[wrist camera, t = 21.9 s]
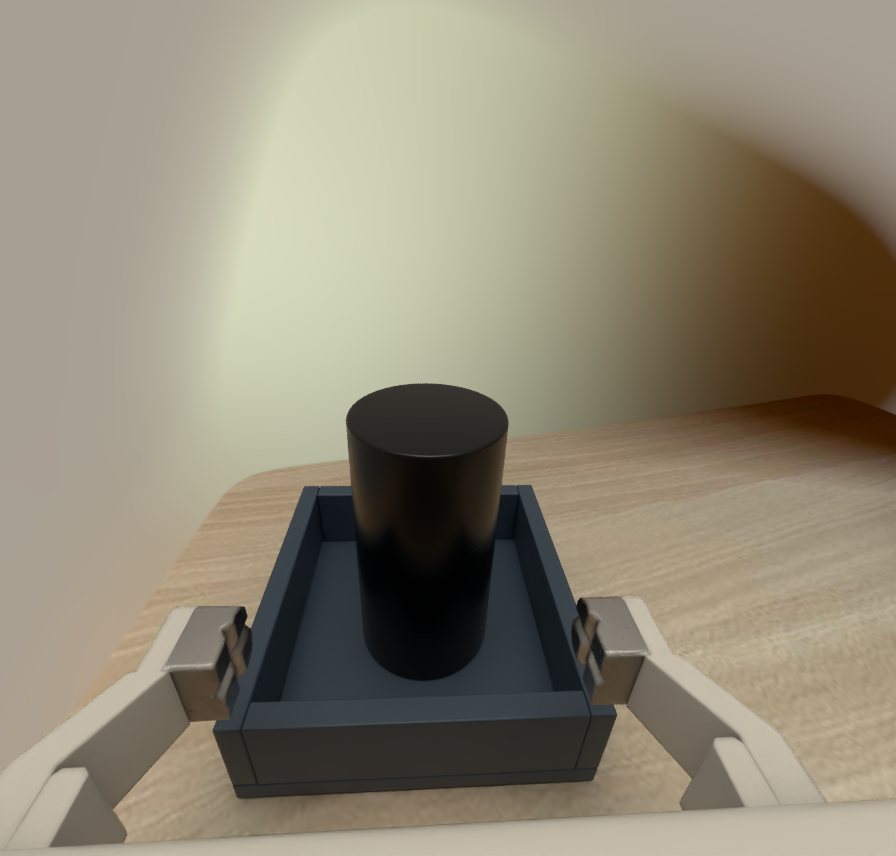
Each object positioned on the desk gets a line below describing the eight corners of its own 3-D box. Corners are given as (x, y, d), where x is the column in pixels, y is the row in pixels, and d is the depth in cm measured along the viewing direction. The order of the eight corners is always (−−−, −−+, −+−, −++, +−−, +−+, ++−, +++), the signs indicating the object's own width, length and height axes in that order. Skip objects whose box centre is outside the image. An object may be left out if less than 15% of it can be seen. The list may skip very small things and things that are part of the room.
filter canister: (355, 683, 17) (333, 456, 12) (368, 577, 22) (356, 382, 17) (493, 678, 17) (523, 456, 13) (477, 575, 22) (495, 383, 17)
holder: (236, 799, 14) (210, 731, 13) (311, 542, 25) (303, 485, 23) (593, 781, 15) (618, 714, 13) (523, 540, 25) (531, 484, 24)
